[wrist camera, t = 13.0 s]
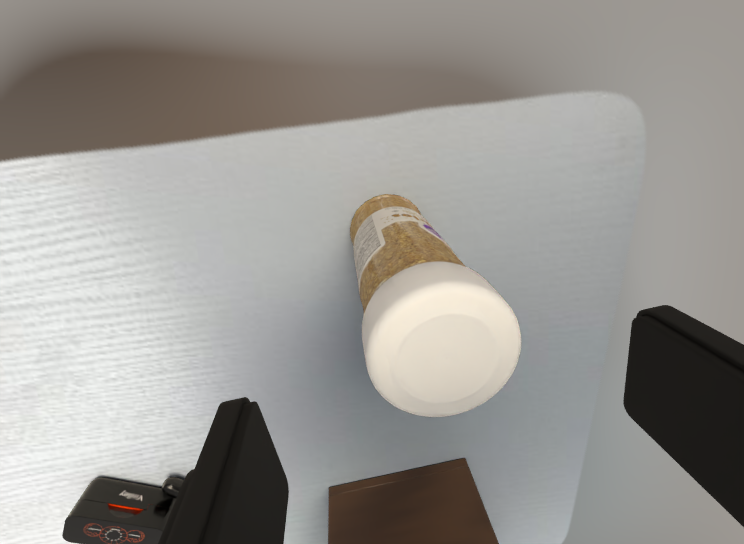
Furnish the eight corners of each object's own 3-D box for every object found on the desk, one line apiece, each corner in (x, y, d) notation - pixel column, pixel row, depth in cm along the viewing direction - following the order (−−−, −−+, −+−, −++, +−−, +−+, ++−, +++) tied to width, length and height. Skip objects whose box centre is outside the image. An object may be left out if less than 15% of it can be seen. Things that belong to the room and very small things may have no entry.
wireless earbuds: (185, 513, 30) (169, 556, 27) (89, 496, 28) (61, 541, 25) (199, 473, 29) (183, 514, 26) (99, 453, 27) (69, 495, 24)
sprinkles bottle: (435, 212, 23) (560, 324, 10) (399, 275, 24) (471, 441, 12) (369, 178, 21) (417, 258, 9) (335, 246, 23) (338, 396, 10)
